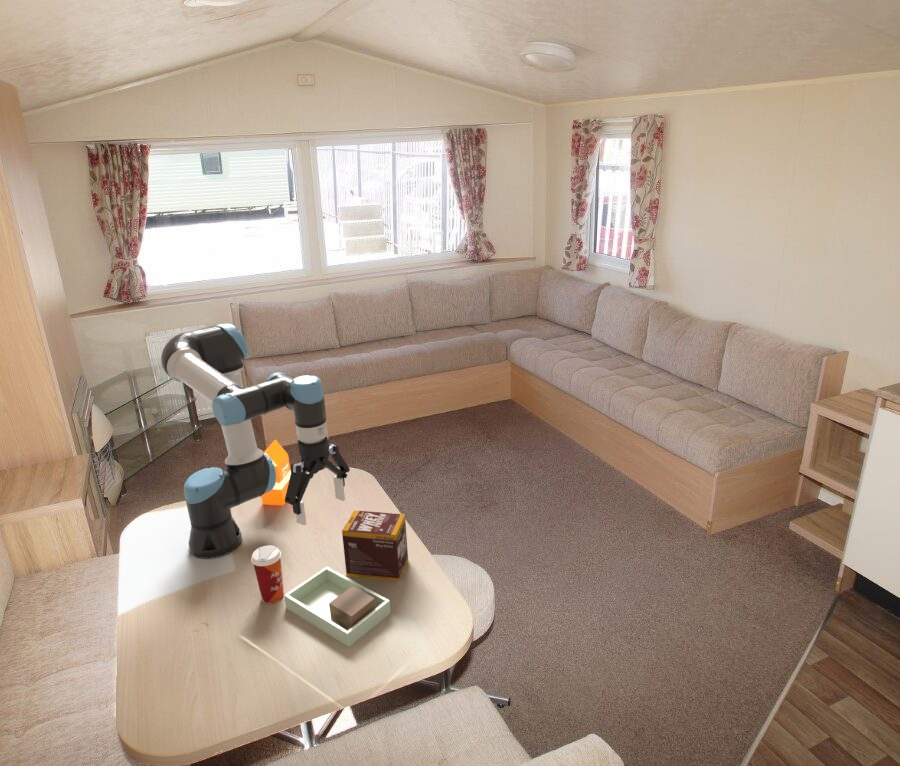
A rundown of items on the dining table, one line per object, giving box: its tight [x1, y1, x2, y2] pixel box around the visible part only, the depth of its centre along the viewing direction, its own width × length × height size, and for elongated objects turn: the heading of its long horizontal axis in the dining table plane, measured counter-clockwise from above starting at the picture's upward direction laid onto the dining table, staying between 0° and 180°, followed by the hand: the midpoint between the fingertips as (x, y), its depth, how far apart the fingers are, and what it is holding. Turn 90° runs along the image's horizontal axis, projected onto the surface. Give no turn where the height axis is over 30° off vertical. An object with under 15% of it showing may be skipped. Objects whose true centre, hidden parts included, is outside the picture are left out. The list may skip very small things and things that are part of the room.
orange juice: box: [260, 439, 291, 506], centre depth 221 cm, size 8×9×20 cm
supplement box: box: [341, 510, 409, 582], centre depth 184 cm, size 10×15×16 cm
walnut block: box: [329, 586, 376, 631], centre depth 166 cm, size 8×8×6 cm
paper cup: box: [250, 545, 284, 604], centre depth 175 cm, size 8×8×14 cm
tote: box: [283, 566, 392, 648], centre depth 170 cm, size 24×15×5 cm, turn 52°
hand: (321, 510), depth 172 cm, fingers open, 13 cm apart
